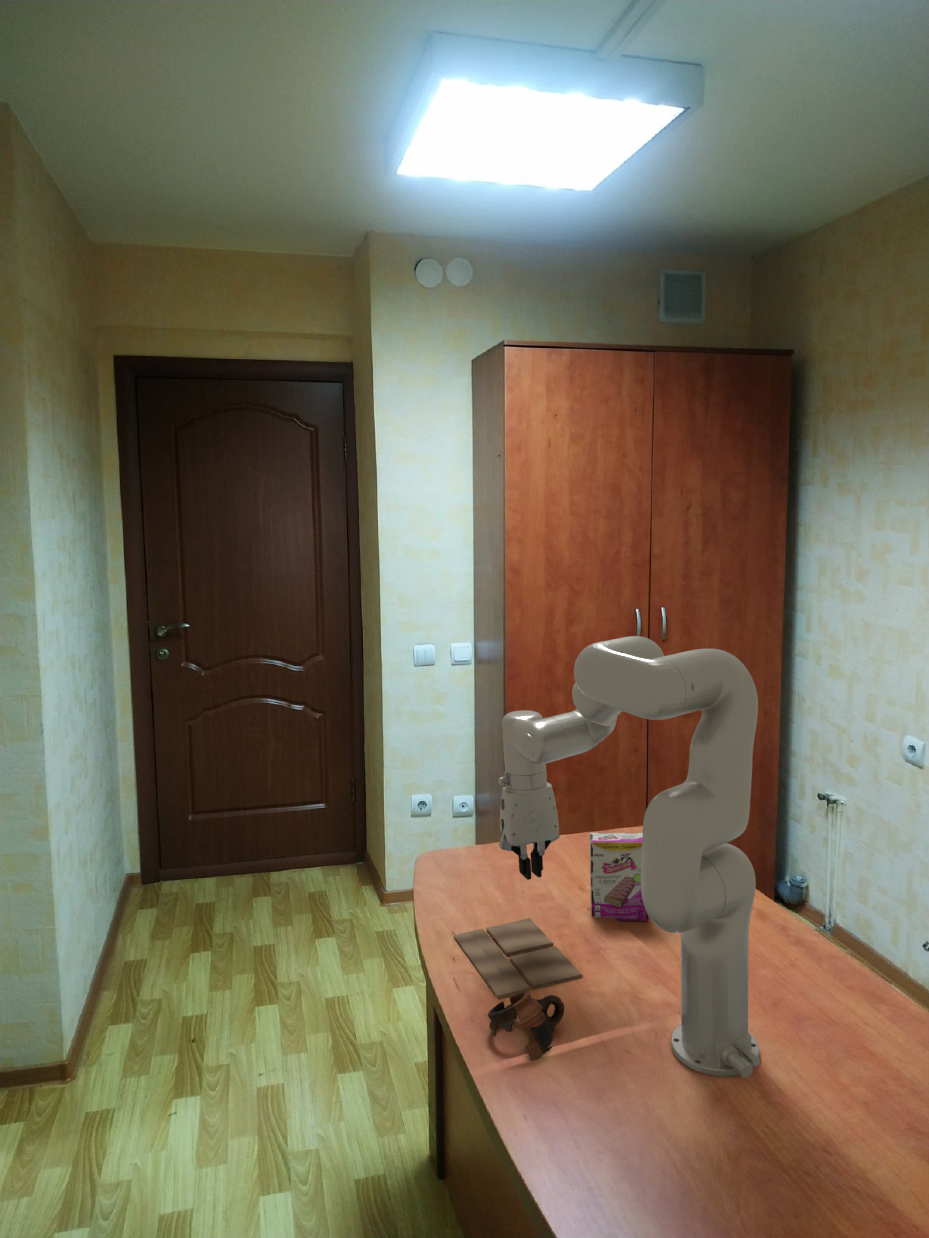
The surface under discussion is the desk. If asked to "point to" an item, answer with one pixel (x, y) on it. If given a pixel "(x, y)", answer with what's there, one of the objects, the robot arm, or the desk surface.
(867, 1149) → the desk surface
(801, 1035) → the desk surface
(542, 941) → the plank
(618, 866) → the candy bar box
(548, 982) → the plank
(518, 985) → the laid strip
